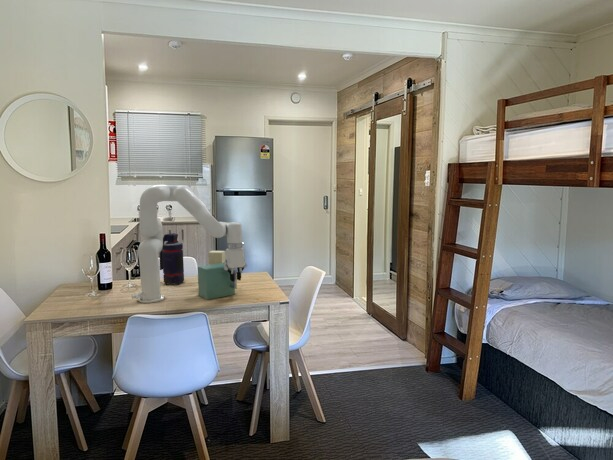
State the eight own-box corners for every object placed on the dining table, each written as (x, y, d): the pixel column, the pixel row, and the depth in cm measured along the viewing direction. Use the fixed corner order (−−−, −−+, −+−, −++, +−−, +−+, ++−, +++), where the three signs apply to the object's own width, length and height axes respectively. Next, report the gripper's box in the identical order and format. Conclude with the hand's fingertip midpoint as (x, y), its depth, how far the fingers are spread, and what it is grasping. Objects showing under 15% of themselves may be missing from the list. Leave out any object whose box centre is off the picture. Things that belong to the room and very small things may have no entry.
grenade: (187, 281, 273) (185, 232, 270) (179, 285, 262) (176, 235, 258) (166, 280, 275) (163, 232, 272) (157, 285, 264) (154, 234, 260)
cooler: (234, 294, 241) (233, 265, 239) (206, 299, 232) (205, 269, 230) (225, 290, 249) (224, 262, 247) (198, 295, 240) (197, 266, 238)
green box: (239, 296, 236) (238, 267, 234) (211, 301, 226) (210, 271, 225) (234, 294, 241) (233, 265, 239) (206, 299, 231) (205, 269, 230)
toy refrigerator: (226, 285, 260) (225, 250, 258) (222, 288, 253) (221, 252, 251) (213, 285, 261) (211, 250, 259) (209, 288, 254) (207, 252, 251)
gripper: (245, 243, 239) (246, 277, 242) (217, 246, 230) (218, 281, 232) (252, 245, 233) (252, 279, 236) (223, 248, 224) (224, 284, 226)
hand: (235, 280), depth 234 cm, fingers open, 3 cm apart
